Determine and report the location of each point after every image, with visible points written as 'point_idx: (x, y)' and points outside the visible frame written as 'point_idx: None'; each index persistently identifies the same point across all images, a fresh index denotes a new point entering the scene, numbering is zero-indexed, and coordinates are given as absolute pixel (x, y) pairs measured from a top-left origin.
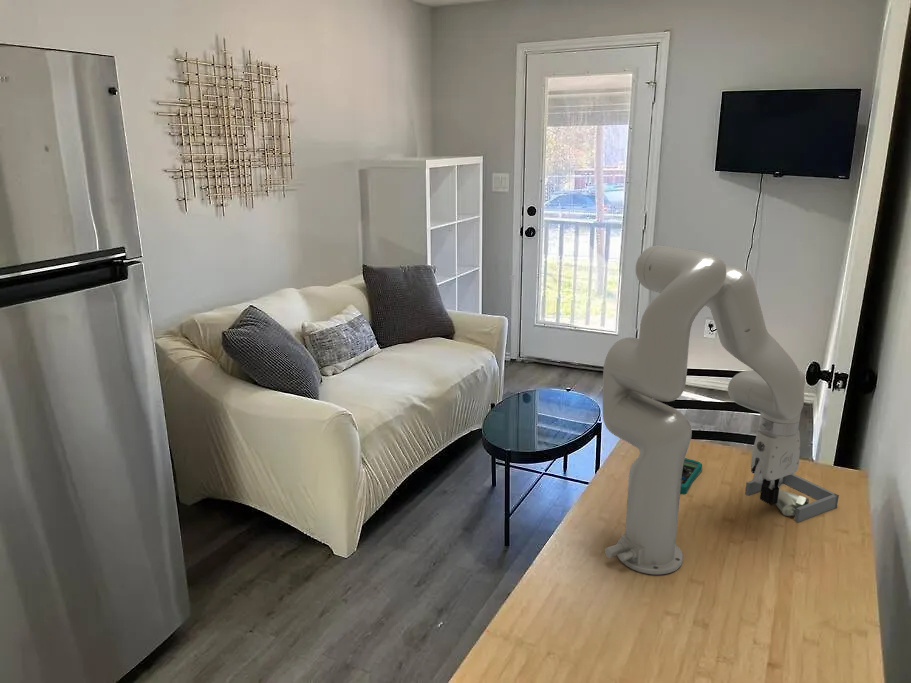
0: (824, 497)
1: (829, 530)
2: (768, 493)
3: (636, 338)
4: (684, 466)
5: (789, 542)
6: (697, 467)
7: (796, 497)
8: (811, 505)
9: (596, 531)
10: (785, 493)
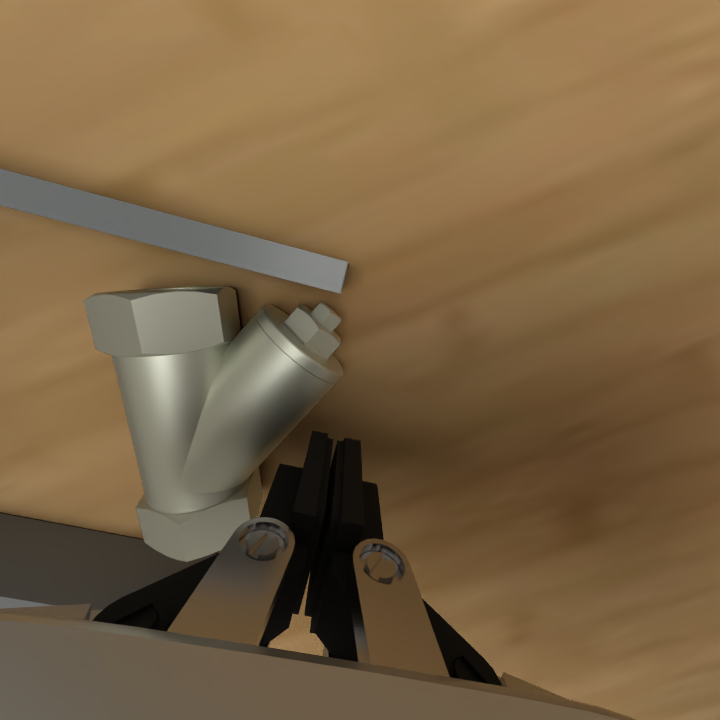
0: None
1: (288, 64)
2: (380, 523)
3: None
4: None
5: (613, 203)
6: None
7: (174, 364)
8: (195, 222)
9: None
10: (186, 444)
